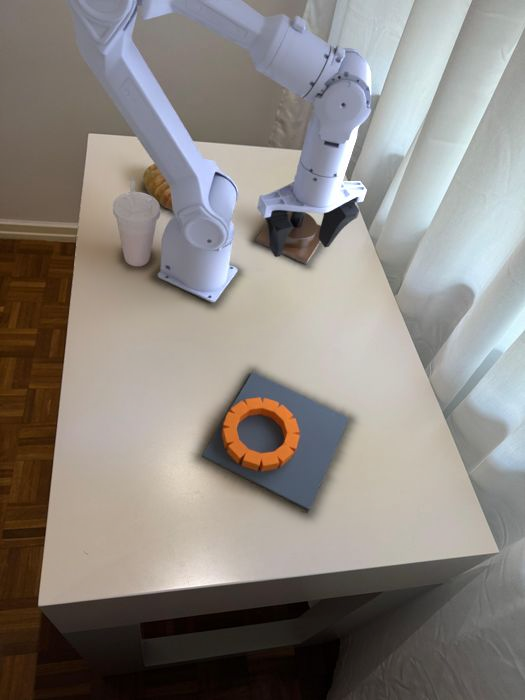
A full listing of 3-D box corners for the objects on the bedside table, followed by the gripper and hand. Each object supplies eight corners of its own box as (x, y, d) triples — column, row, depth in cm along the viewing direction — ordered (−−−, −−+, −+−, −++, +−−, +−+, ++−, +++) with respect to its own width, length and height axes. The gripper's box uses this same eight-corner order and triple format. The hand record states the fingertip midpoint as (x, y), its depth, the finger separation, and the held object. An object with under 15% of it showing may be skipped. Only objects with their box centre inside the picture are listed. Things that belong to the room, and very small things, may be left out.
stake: (255, 242, 92) (263, 205, 86) (278, 212, 98) (286, 175, 92) (306, 264, 91) (317, 228, 85) (326, 233, 96) (338, 197, 91)
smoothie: (116, 241, 87) (112, 162, 76) (159, 244, 88) (161, 166, 77) (113, 271, 83) (109, 193, 72) (158, 274, 85) (160, 197, 74)
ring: (206, 431, 70) (208, 424, 69) (260, 392, 75) (262, 385, 73) (258, 486, 67) (261, 480, 65) (311, 441, 71) (314, 434, 70)
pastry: (200, 207, 95) (201, 189, 92) (162, 217, 92) (163, 198, 89) (175, 174, 99) (175, 155, 96) (138, 182, 96) (138, 163, 93)
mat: (202, 456, 68) (202, 455, 68) (252, 373, 77) (252, 371, 76) (308, 511, 66) (309, 509, 66) (348, 419, 75) (349, 417, 74)
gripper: (358, 137, 73) (331, 220, 84) (254, 149, 68) (240, 236, 79) (386, 170, 70) (354, 253, 80) (279, 186, 64) (260, 271, 75)
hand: (299, 247), depth 79 cm, fingers open, 7 cm apart
